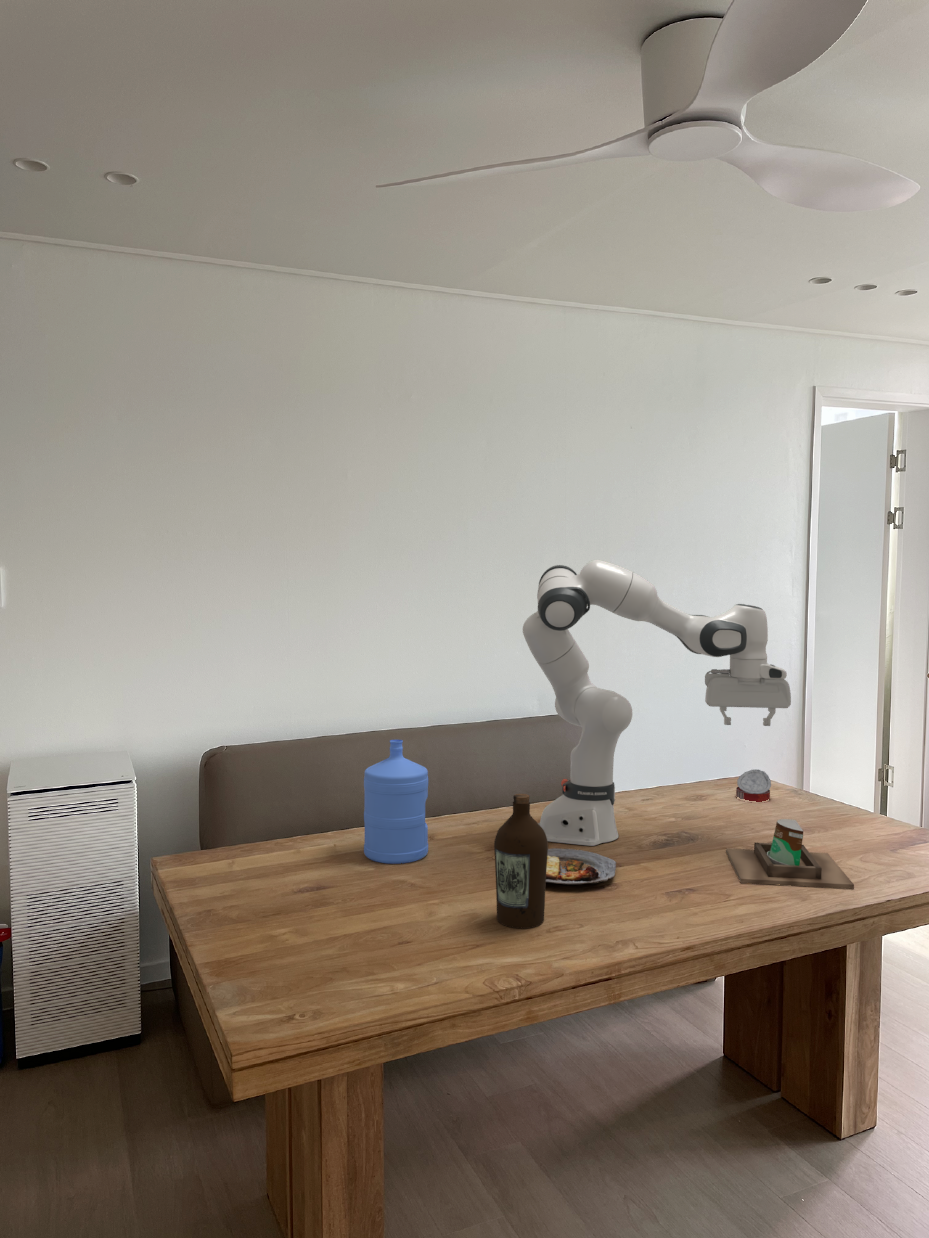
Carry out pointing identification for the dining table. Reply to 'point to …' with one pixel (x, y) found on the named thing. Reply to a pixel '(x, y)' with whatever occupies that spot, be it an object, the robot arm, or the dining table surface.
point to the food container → (786, 843)
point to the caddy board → (787, 868)
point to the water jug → (395, 809)
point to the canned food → (754, 786)
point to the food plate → (578, 867)
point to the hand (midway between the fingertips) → (747, 725)
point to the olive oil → (520, 868)
